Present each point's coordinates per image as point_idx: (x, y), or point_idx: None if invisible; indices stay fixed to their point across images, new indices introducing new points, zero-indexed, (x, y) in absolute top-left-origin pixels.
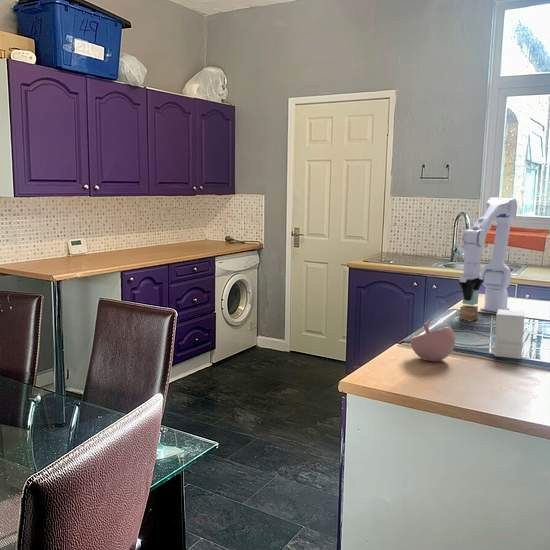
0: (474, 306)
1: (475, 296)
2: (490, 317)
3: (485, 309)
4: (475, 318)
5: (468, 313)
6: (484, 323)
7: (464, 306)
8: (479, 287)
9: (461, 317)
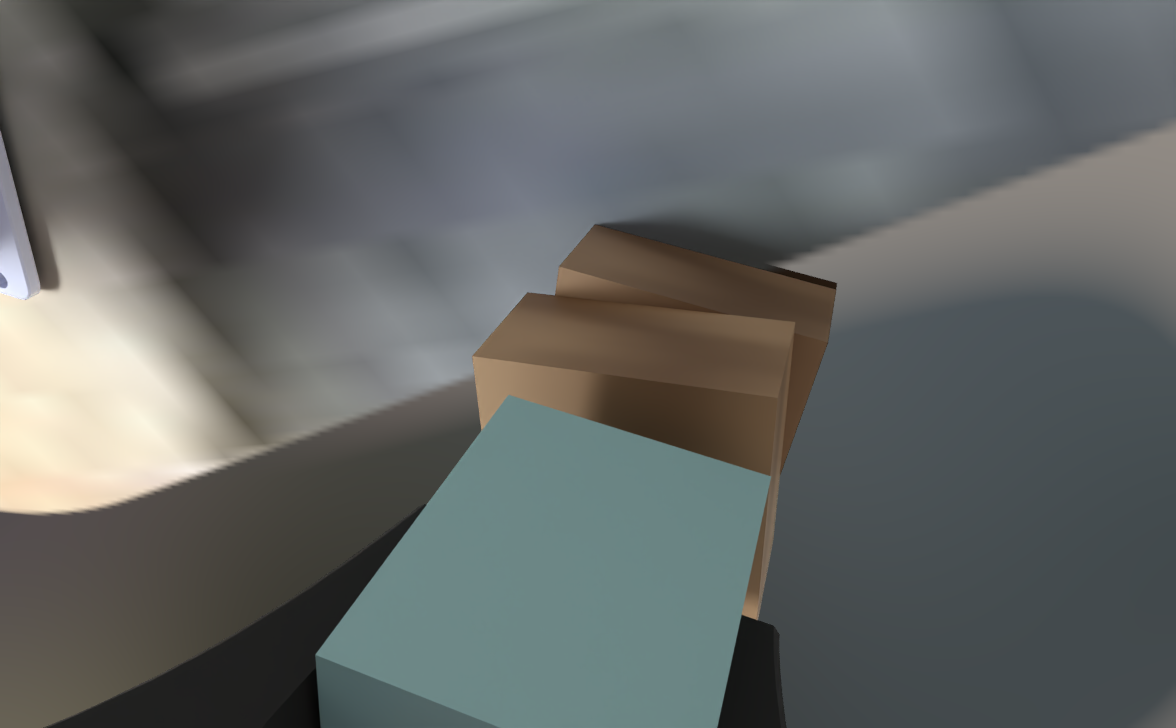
0: None
1: (590, 588)
2: (346, 59)
3: (16, 227)
4: (701, 267)
5: (784, 428)
6: (915, 48)
7: None
8: (156, 695)
9: None
